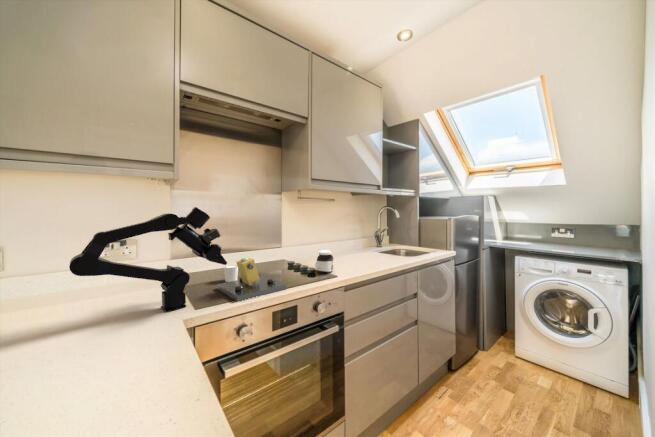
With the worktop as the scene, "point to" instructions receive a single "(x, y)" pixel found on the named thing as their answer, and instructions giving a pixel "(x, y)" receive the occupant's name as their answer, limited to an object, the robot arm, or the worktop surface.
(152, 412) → the worktop surface
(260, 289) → the tribrach plate
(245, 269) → the yellow rectangular block
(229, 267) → the white cup
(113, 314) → the worktop surface
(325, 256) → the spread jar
